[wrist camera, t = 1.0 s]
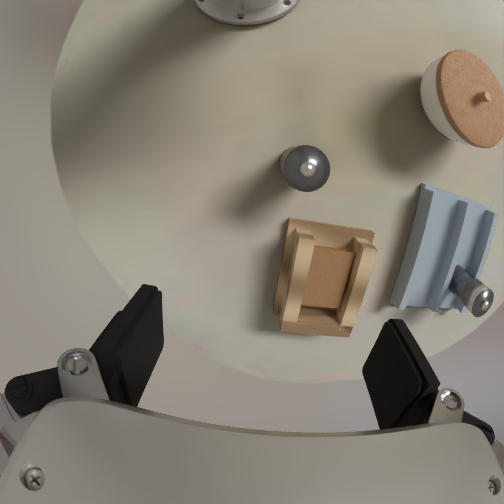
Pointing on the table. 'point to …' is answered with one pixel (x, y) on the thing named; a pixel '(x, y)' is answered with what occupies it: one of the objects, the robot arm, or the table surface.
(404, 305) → the trough board
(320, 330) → the cradle
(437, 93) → the lidded jar
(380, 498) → the robot arm
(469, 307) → the cell
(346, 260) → the brown rectangular slab
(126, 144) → the table surface
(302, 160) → the cell
